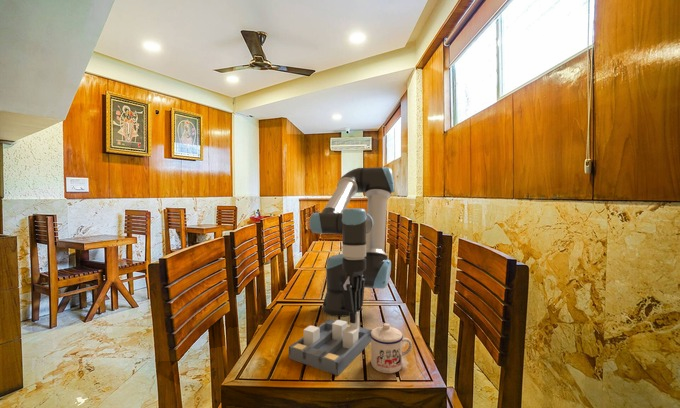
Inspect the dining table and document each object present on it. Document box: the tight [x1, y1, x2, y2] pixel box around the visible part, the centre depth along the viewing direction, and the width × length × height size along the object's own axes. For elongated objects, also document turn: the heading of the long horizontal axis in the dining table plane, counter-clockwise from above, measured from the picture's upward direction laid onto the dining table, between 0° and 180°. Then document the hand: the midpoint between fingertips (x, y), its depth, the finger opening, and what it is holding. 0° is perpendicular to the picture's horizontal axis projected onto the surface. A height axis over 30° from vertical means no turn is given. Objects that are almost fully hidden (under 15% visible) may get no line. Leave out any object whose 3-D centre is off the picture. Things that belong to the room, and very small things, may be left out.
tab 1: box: [303, 325, 320, 347], centre depth 91 cm, size 4×4×5 cm
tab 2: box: [332, 319, 348, 340], centre depth 95 cm, size 4×4×5 cm
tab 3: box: [343, 327, 358, 349], centre depth 90 cm, size 4×4×5 cm
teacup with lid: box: [370, 322, 413, 374], centre depth 83 cm, size 12×9×12 cm
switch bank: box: [288, 319, 373, 376], centre depth 92 cm, size 22×17×4 cm
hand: (354, 331), depth 92 cm, fingers closed
